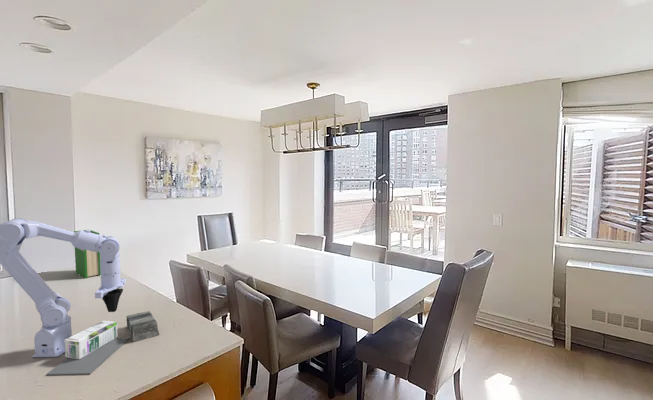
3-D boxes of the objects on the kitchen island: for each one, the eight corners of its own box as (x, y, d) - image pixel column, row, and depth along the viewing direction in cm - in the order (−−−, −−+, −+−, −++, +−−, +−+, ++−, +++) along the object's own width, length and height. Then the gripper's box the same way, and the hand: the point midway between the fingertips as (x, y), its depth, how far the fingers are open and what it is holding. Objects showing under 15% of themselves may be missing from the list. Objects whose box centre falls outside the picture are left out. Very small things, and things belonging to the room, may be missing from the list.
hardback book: (101, 275, 188) (99, 233, 186) (85, 278, 182) (83, 234, 181) (91, 269, 199) (89, 229, 198) (76, 272, 194) (73, 231, 192)
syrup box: (118, 337, 116) (80, 360, 102) (103, 335, 117) (63, 357, 103) (117, 321, 116) (79, 341, 102) (103, 319, 117) (63, 339, 103)
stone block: (153, 321, 130) (153, 308, 130) (161, 335, 119) (161, 321, 119) (126, 327, 125) (126, 314, 124) (132, 343, 113) (132, 328, 113)
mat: (90, 374, 95) (89, 373, 95) (46, 375, 95) (46, 374, 95) (129, 339, 116) (129, 338, 116) (93, 339, 115) (93, 338, 115)
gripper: (110, 279, 108) (111, 320, 109) (133, 266, 123) (135, 303, 124) (87, 279, 108) (89, 320, 109) (113, 266, 122) (115, 303, 123)
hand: (112, 311), depth 116 cm, fingers closed
